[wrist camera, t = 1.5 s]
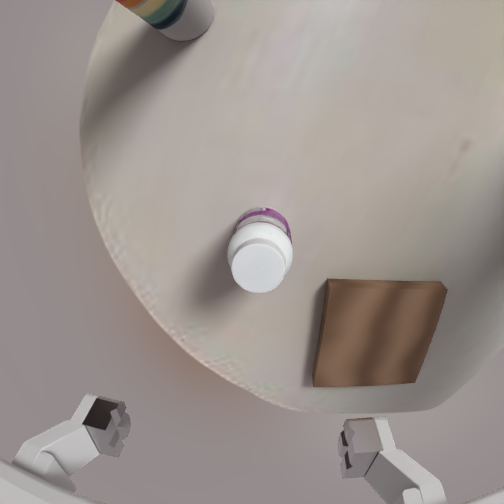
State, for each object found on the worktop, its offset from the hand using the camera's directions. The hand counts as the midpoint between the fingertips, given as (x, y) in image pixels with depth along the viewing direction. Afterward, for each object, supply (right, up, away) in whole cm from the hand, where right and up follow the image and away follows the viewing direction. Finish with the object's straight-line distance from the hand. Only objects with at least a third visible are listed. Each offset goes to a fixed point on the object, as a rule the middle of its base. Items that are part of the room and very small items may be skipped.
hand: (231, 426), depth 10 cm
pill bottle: (+2, +8, +22) cm, 24 cm away
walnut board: (+16, -3, +26) cm, 30 cm away
